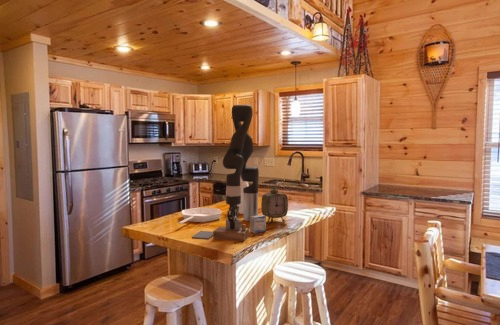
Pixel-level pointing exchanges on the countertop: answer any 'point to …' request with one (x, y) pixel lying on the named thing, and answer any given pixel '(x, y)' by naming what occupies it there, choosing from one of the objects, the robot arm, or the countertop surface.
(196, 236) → the rubber mat
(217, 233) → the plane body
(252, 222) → the medicine box
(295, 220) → the countertop surface
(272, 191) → the tabletop clock
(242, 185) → the milk
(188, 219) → the pan
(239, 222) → the lever cap
